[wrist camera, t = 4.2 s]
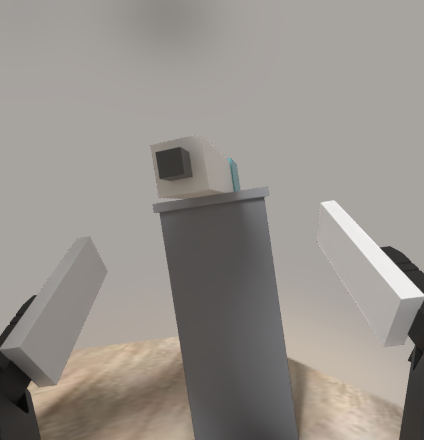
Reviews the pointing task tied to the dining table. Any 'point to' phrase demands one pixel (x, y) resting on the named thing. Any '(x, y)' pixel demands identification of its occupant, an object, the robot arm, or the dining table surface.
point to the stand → (229, 316)
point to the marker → (192, 169)
